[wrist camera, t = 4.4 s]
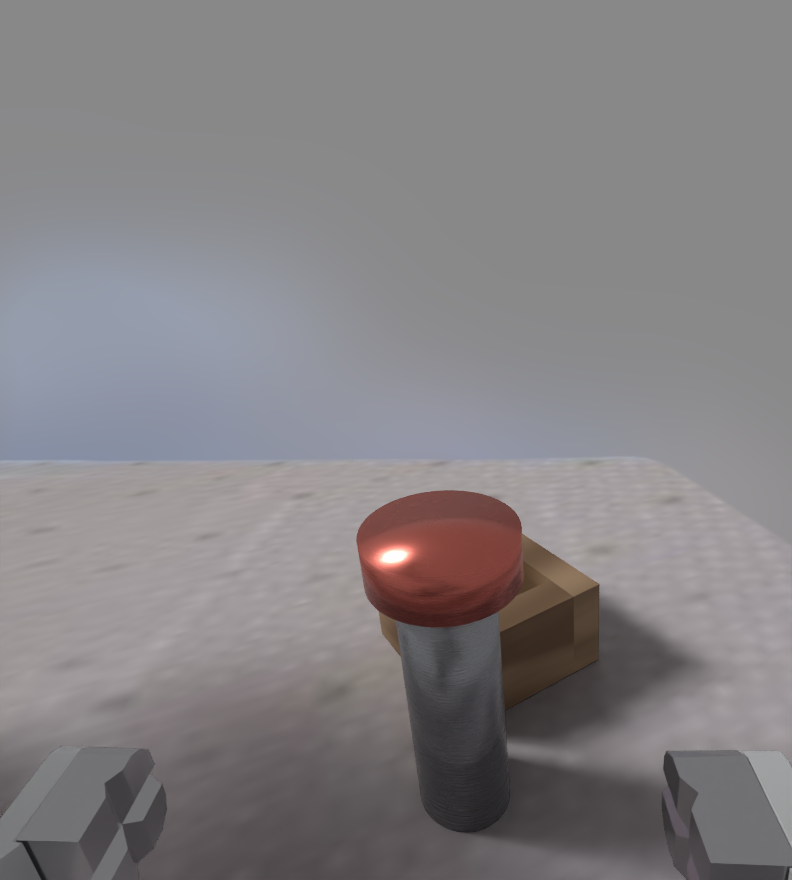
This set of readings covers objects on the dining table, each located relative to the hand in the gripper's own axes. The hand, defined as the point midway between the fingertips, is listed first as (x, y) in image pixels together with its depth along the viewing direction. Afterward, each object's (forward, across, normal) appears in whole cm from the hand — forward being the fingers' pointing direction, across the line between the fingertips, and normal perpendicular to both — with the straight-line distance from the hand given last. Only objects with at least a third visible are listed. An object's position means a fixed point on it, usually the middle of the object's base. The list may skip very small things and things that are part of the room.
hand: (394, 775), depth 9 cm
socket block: (+22, -1, +16) cm, 27 cm away
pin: (+13, 0, +16) cm, 21 cm away
